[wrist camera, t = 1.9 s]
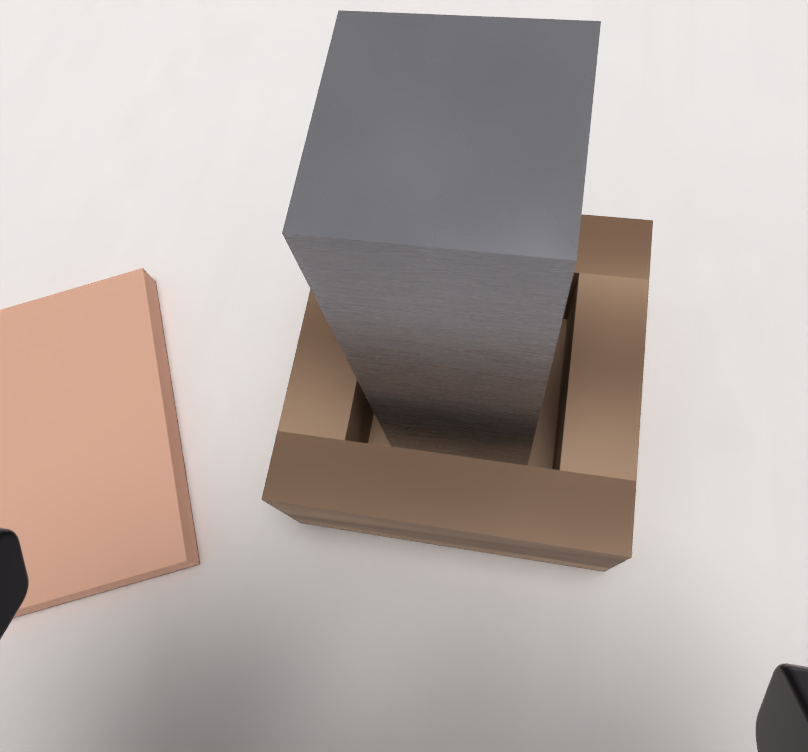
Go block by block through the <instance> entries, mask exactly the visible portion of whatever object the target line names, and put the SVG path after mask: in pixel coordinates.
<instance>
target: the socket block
mask: <svg viewBox="0 0 808 752" xmlns="http://www.w3.org/2000/svg"><path fill="white" fill-rule="evenodd" d="M652 226H653V220H641V219H629V218H617V217H605V216H593V215H581V222H580V232H579V242H578V252H577V261H576V265H575V269H574V274H573V278H572V282H571V286H570V290H569V294H568V299H567V303H566V307H565V311H564V315H563V319H562V324H561V328H560V332H559V336H558V340H557V344H556V349H555V353H554V357H553V361H552V365H551V369H550V374H549V378H548V382H547V386H546V390H545V394H544V399H543V403H542V407H541V411H540V415H539V419H538V424H537V428H536V432H535V436H534V440H533V444H532V449H531V453H530V457H529V461H528V465H521V464H514V463H506V462H499V461H492V460H485V459H478V458H471V457H463V456H456V455H449V454H442V453H435V452H427V451H420V450H413V449H406V448H399V447H392V446H391V445H390V443H389V441H388V439H387V437H386V435H385V433H384V431H383V429H382V428H381V426H380V424H379V422H378V420H377V418H376V416H375V414H374V412H373V410H372V408H371V406H370V404H369V402H368V400H367V398H366V396H365V394H364V392H363V390H362V388H361V386H360V384H359V382H358V381H357V379H356V377H355V375H354V373H353V371H352V369H351V367H350V365H349V363H348V361H347V359H346V357H345V355H344V353H343V351H342V349H341V347H340V345H339V343H338V341H337V339H336V337H335V336H334V334H333V332H332V330H331V328H330V326H329V324H328V322H327V320H326V318H325V316H324V314H323V312H322V310H321V308H320V306H319V304H318V302H317V300H316V298H315V296H314V294H313V292H312V290H311V289H310V293H309V298H308V302H307V306H306V311H305V315H304V319H303V323H302V328H301V332H300V336H299V341H298V345H297V349H296V354H295V358H294V362H293V366H292V371H291V375H290V379H289V384H288V388H287V392H286V397H285V401H284V405H283V410H282V414H281V418H280V422H279V427H278V431H277V435H276V440H275V444H274V448H273V453H272V457H271V461H270V465H269V470H268V474H267V478H266V483H265V487H264V491H263V496H262V500H263V501H265V502H266V503H268V504H270V505H271V506H273V507H275V508H276V509H278V510H280V511H281V512H283V513H285V514H287V515H288V516H290V517H292V518H293V519H295V520H297V521H298V522H300V523H305V524H311V525H317V526H323V527H330V528H336V529H342V530H348V531H355V532H361V533H367V534H373V535H380V536H386V537H392V538H398V539H405V540H411V541H417V542H423V543H430V544H436V545H442V546H448V547H455V548H461V549H467V550H473V551H480V552H486V553H492V554H498V555H505V556H511V557H517V558H523V559H530V560H536V561H542V562H548V563H555V564H561V565H567V566H573V567H580V568H586V569H592V570H598V571H607V570H608V569H610V568H612V567H614V566H616V565H618V564H620V563H622V562H624V561H625V560H627V559H629V558H631V556H632V540H633V525H634V509H635V493H636V478H637V462H638V446H639V430H640V415H641V399H642V383H643V368H644V352H645V336H646V320H647V305H648V289H649V273H650V258H651V242H652Z"/></svg>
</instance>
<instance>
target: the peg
mask: <svg viewBox="0 0 808 752" xmlns="http://www.w3.org/2000/svg"><path fill="white" fill-rule="evenodd" d="M600 24H601V21H580V20H556V19H531V18H507V17H483V16H459V15H434V14H410V13H386V12H362V11H338V15H337V19H336V23H335V27H334V31H333V35H332V39H331V43H330V47H329V51H328V55H327V59H326V63H325V66H324V70H323V74H322V78H321V82H320V86H319V90H318V94H317V98H316V102H315V106H314V110H313V114H312V118H311V122H310V126H309V130H308V134H307V137H306V141H305V145H304V149H303V153H302V157H301V161H300V165H299V169H298V173H297V177H296V181H295V185H294V189H293V193H292V197H291V201H290V204H289V208H288V212H287V216H286V220H285V224H284V228H283V232H282V234H283V236H284V238H285V240H286V242H287V244H288V245H289V247H290V249H291V251H292V253H293V255H294V257H295V259H296V261H297V263H298V265H299V267H300V269H301V271H302V273H303V275H304V277H305V279H306V281H307V283H308V285H309V287H310V289H311V290H312V292H313V294H314V296H315V298H316V300H317V302H318V304H319V306H320V308H321V310H322V312H323V314H324V316H325V318H326V320H327V322H328V324H329V326H330V328H331V330H332V332H333V334H334V336H335V337H336V339H337V341H338V343H339V345H340V347H341V349H342V351H343V353H344V355H345V357H346V359H347V361H348V363H349V365H350V367H351V369H352V371H353V373H354V375H355V377H356V379H357V381H358V382H359V384H360V386H361V388H362V390H363V392H364V394H365V396H366V398H367V400H368V402H369V404H370V406H371V408H372V410H373V412H374V414H375V416H376V418H377V420H378V422H379V424H380V426H381V428H382V429H383V431H384V433H385V435H386V437H387V439H388V441H389V443H390V445H391V446H392V447H399V448H406V449H413V450H420V451H427V452H435V453H442V454H449V455H456V456H463V457H471V458H478V459H485V460H492V461H499V462H506V463H514V464H521V465H528V461H529V457H530V453H531V449H532V444H533V440H534V436H535V432H536V428H537V424H538V419H539V415H540V411H541V407H542V403H543V399H544V394H545V390H546V386H547V382H548V378H549V374H550V369H551V365H552V361H553V357H554V353H555V349H556V344H557V340H558V336H559V332H560V328H561V324H562V319H563V315H564V311H565V307H566V303H567V299H568V294H569V290H570V286H571V282H572V278H573V274H574V269H575V265H576V261H577V252H578V242H579V232H580V222H581V212H582V202H583V192H584V183H585V173H586V163H587V153H588V143H589V133H590V123H591V113H592V103H593V93H594V83H595V74H596V64H597V54H598V44H599V34H600Z"/></svg>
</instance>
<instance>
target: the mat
mask: <svg viewBox="0 0 808 752" xmlns="http://www.w3.org/2000/svg"><path fill="white" fill-rule="evenodd" d="M0 528H6V529H10V530H12V531H14V532H15V534H16V535H17V536H18V538H19V541H20V545H21V550H22V554H23V558H24V562H25V566H26V570H27V574H28V579H29V586H28V591H27V594H26V597H25V599H24V601H23V603H22V604H21V606H20V608H19V609H18V611H17V613H16V614H15V616H14V617H18V616H21V615H25V614H28V613H32V612H35V611H39V610H42V609H46V608H49V607H52V606H56V605H59V604H63V603H66V602H70V601H73V600H77V599H80V598H84V597H87V596H91V595H94V594H98V593H101V592H105V591H108V590H111V589H115V588H118V587H122V586H125V585H129V584H132V583H136V582H139V581H143V580H146V579H150V578H153V577H157V576H160V575H163V574H167V573H170V572H174V571H177V570H181V569H184V568H188V567H191V566H195V565H198V564H200V563H199V556H198V550H197V544H196V537H195V531H194V524H193V518H192V512H191V505H190V499H189V492H188V486H187V480H186V473H185V467H184V460H183V454H182V448H181V441H180V435H179V428H178V422H177V416H176V409H175V403H174V396H173V390H172V384H171V377H170V371H169V364H168V358H167V352H166V345H165V339H164V332H163V326H162V320H161V313H160V307H159V300H158V294H157V288H156V282H155V281H154V280H153V279H152V278H151V276H150V275H149V274H148V273H147V272H146V271H145V270H144V269H143V268H142V269H138V270H135V271H132V272H128V273H125V274H121V275H118V276H115V277H111V278H108V279H104V280H101V281H98V282H94V283H91V284H87V285H84V286H81V287H77V288H74V289H70V290H67V291H63V292H60V293H57V294H53V295H50V296H46V297H43V298H40V299H36V300H33V301H29V302H26V303H23V304H19V305H16V306H12V307H9V308H5V309H2V310H0ZM14 617H13V618H14Z"/></svg>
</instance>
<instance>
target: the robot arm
mask: <svg viewBox="0 0 808 752" xmlns="http://www.w3.org/2000/svg"><path fill="white" fill-rule="evenodd" d="M28 586H29V579H28V574H27V570H26V566H25V562H24V558H23V554H22V550H21V545H20V541H19V538H18V536H17V535H16V534H15V532H14V531H12V530H10V529H6V528H0V639H1V637H2V636H3V634H4V632H5V631H6V629H7V627H8V626H9V624H10V622H11V621H12V619H13V617H14V616H15V614H16V613H17V611H18V609H19V608H20V606H21V604H22V603H23V601H24V599H25V597H26V594H27V591H28ZM756 741H757V749H758V752H808V667H804V666H798V665H793V664H780V665H779V666H778V667H777V668H776V669H775V671H774V672H773V675H772V678H771V680H770V683H769V686H768V688H767V691H766V694H765V696H764V699H763V702H762V704H761V707H760V710H759V712H758V716H757V721H756Z"/></svg>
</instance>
